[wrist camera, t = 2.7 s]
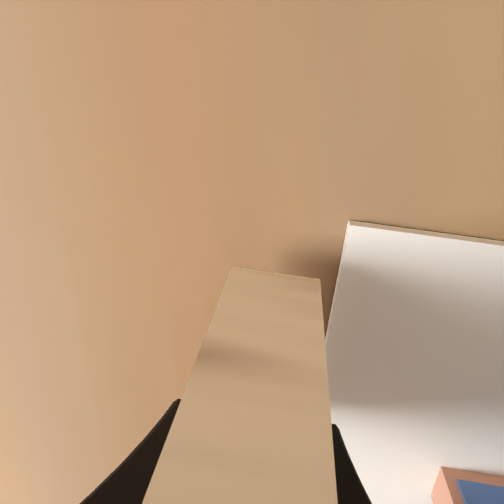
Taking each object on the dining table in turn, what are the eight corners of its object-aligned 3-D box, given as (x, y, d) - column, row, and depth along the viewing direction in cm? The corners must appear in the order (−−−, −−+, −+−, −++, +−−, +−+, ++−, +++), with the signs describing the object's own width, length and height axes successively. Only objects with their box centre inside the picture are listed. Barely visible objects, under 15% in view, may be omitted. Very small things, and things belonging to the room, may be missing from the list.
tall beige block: (289, 445, 15) (275, 805, 8) (214, 432, 15) (129, 774, 8) (320, 278, 13) (342, 558, 5) (231, 265, 13) (135, 522, 6)
